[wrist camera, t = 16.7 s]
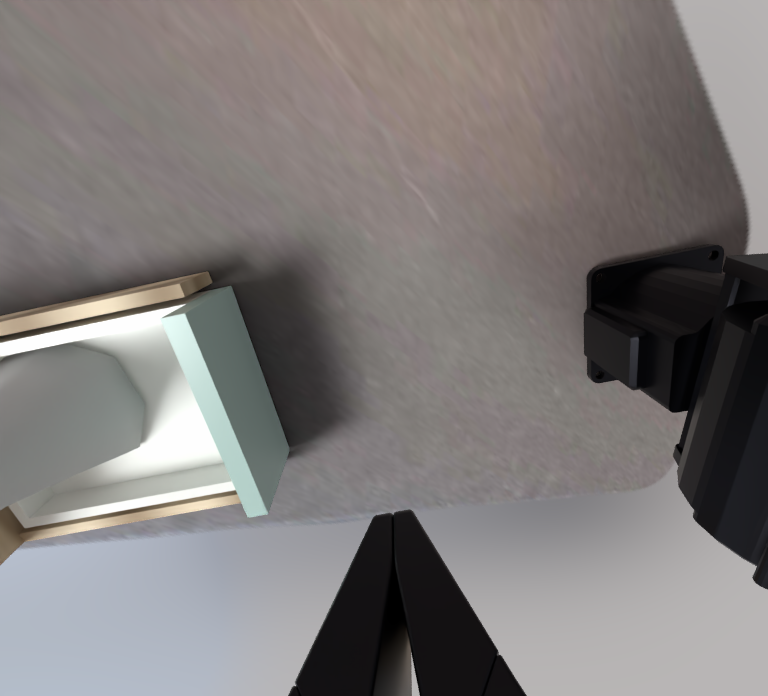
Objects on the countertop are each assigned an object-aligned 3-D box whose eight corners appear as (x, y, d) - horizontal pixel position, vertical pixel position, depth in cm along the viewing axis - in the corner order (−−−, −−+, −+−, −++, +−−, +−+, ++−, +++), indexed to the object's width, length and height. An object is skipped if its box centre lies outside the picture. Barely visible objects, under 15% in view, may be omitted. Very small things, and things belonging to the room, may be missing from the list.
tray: (231, 285, 19) (184, 313, 14) (289, 449, 23) (268, 514, 18) (-36, 342, 20) (-162, 385, 15) (63, 491, 23) (-14, 564, 19)
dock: (208, 271, 19) (100, 317, 11) (279, 462, 23) (235, 585, 16) (-62, 329, 20) (-328, 407, 12) (56, 503, 24) (-87, 639, 17)
